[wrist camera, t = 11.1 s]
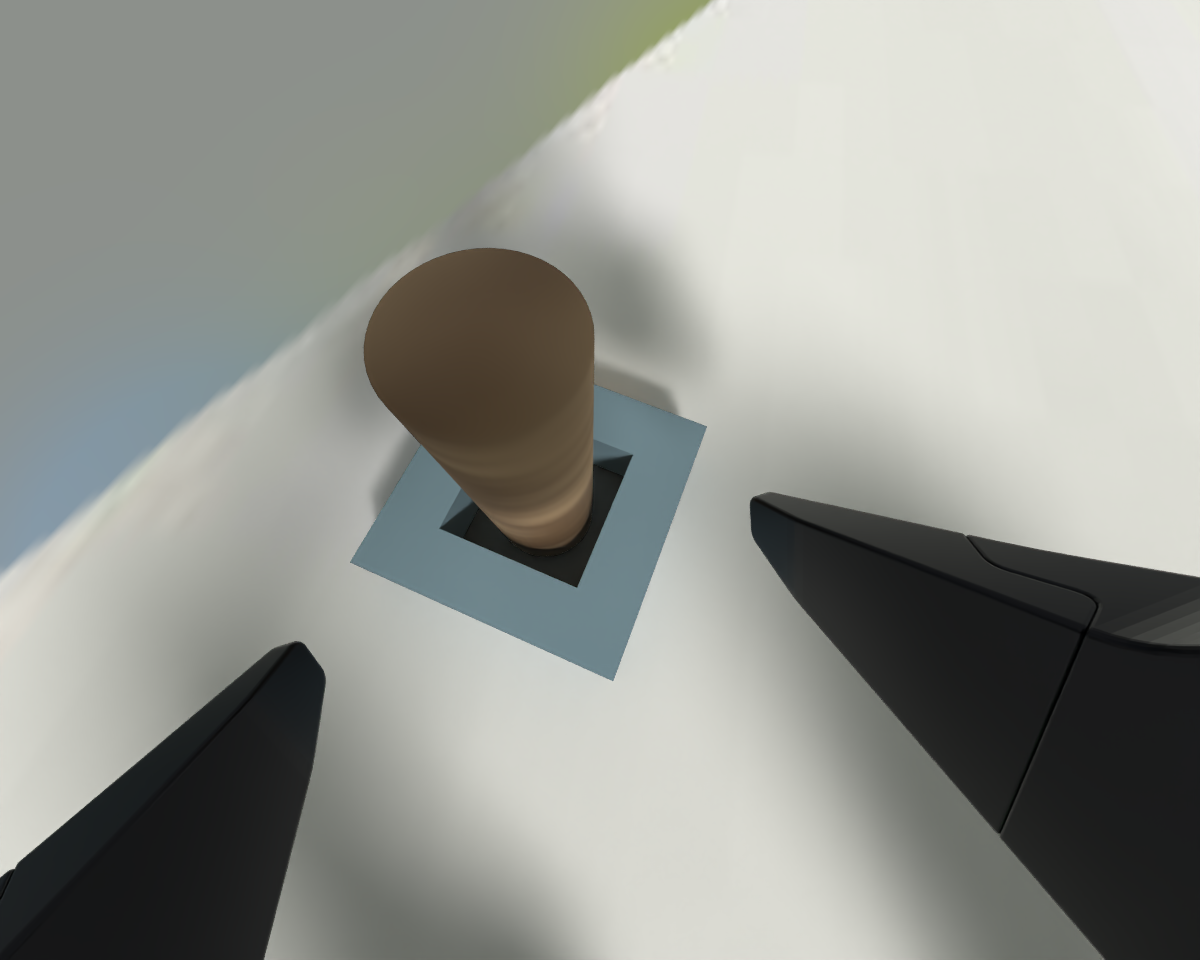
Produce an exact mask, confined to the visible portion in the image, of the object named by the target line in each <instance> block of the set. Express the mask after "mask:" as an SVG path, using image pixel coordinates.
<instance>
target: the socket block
mask: <svg viewBox="0 0 1200 960" xmlns="http://www.w3.org/2000/svg"><path fill="white" fill-rule="evenodd" d="M706 428H707V426H704V425H702V424H699V423H696V422H694V421H691V420H688V419H686V418H683V417H680V416H677V415H675V414H672V413H669V412H667V411H664V410H661V409H659V408H656V407H653V406H651V405H648V404H645V403H643V402H640V401H637V400H635V399H632V398H629V397H627V396H624V395H621V394H619V393H616V392H613V391H611V390H608V389H605V388H603V387H600V386H597V385H594V420H593V464H594V465H597V466H599V467H602V468H604V469H607V470H609V471H612V472H615V473H617V474H620V475H622V476H624V478H623V480H622V483H621V485H620V487H619V490H618V492H617V494H616V497H615V499H614V502H613V504H612V506H611V509H610V511H609V513H608V516H607V518H606V521H605V523H604V525H603V528H602V530H601V532H600V535H599V537H598V540H597V542H596V544H595V547H594V549H593V551H592V554H591V556H590V559H589V561H588V563H587V566H586V568H585V570H584V573H583V575H582V578H581V580H580V582H579V585H578V587H577V588H576V587H574V586H572V585H569V584H567V583H565V582H562V581H560V580H558V579H555V578H553V577H551V576H548V575H546V574H544V573H541V572H539V571H537V570H534V569H532V568H530V567H527V566H525V565H523V564H520V563H518V562H516V561H513V560H511V559H509V558H507V557H504V556H502V555H500V554H497V553H495V552H493V551H490V550H488V549H486V548H483V547H481V546H479V545H476V544H474V543H472V542H469V541H467V540H465V539H463V537H464V535H465V533H466V531H467V530H468V528H469V526H470V524H471V522H472V520H473V518H474V516H475V514H476V512H477V511H478V509H479V507H478V506H477V505H476V503H475V502H474V501H473V500H472V499H471V498H470V497H469V496H468V495H467V494H466V493H465V492H464V490H463V489H462V488H461V487H460V486H459V485H458V484H457V483H456V482H455V481H454V480H453V479H452V477H451V476H450V475H449V474H448V473H447V472H446V471H445V470H444V469H443V468H442V467H441V465H440V464H439V463H438V462H437V461H436V460H435V459H434V458H433V457H432V456H431V455H430V454H429V452H428V451H427V450H426V449H425V448H424V447H423V446H422V445H420V447H419V449H418V450H417V452H416V454H415V455H414V457H413V459H412V460H411V462H410V464H409V465H408V467H407V469H406V470H405V472H404V474H403V475H402V477H401V479H400V480H399V482H398V484H397V485H396V487H395V489H394V490H393V492H392V494H391V495H390V497H389V499H388V500H387V502H386V504H385V505H384V507H383V508H382V510H381V512H380V513H379V515H378V517H377V518H376V520H375V522H374V523H373V525H372V527H371V528H370V530H369V532H368V533H367V535H366V537H365V538H364V540H363V542H362V543H361V545H360V547H359V548H358V550H357V552H356V553H355V555H354V557H353V558H352V560H351V562H350V563H352V564H355V565H357V566H359V567H361V568H364V569H366V570H368V571H370V572H372V573H375V574H377V575H379V576H381V577H383V578H386V579H388V580H390V581H392V582H395V583H397V584H399V585H401V586H403V587H406V588H408V589H410V590H412V591H414V592H417V593H419V594H421V595H423V596H426V597H428V598H430V599H432V600H434V601H437V602H439V603H441V604H443V605H445V606H448V607H450V608H452V609H454V610H457V611H459V612H461V613H463V614H465V615H468V616H470V617H472V618H474V619H476V620H479V621H481V622H483V623H485V624H488V625H490V626H492V627H494V628H496V629H499V630H501V631H503V632H505V633H507V634H510V635H512V636H514V637H516V638H519V639H521V640H523V641H525V642H527V643H530V644H532V645H534V646H536V647H538V648H541V649H543V650H545V651H547V652H550V653H552V654H554V655H556V656H558V657H561V658H563V659H565V660H567V661H569V662H572V663H574V664H576V665H578V666H581V667H583V668H585V669H587V670H589V671H592V672H594V673H596V674H598V675H600V676H603V677H605V678H607V679H609V680H612V681H613V680H614V678H615V675H616V672H617V669H618V667H619V664H620V661H621V658H622V656H623V653H624V650H625V648H626V645H627V642H628V639H629V637H630V634H631V631H632V629H633V626H634V623H635V620H636V618H637V615H638V612H639V610H640V607H641V604H642V601H643V599H644V596H645V593H646V591H647V588H648V585H649V582H650V580H651V577H652V574H653V572H654V569H655V566H656V563H657V561H658V558H659V555H660V553H661V550H662V547H663V544H664V542H665V539H666V536H667V534H668V531H669V528H670V525H671V523H672V520H673V517H674V515H675V512H676V509H677V506H678V504H679V501H680V498H681V496H682V493H683V490H684V487H685V485H686V482H687V479H688V477H689V474H690V471H691V468H692V466H693V463H694V460H695V458H696V455H697V452H698V449H699V447H700V444H701V441H702V439H703V436H704V433H705V430H706Z"/></svg>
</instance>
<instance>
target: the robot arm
mask: <svg viewBox="0 0 1200 960" xmlns="http://www.w3.org/2000/svg"><path fill="white" fill-rule="evenodd" d="M750 517H751V532H752V535H753V538H754V540H755V542H756V543H757V545H758V546H759V548H760V549H761V551H762V552H763V554H764V555H765V557H766V558H767V559H768V561H769V562H770V564H771V565H772V567H773V568H774V570H775V571H776V573H777V574H778V575H779V577H780V578H781V580H782V581H783V583H784V584H785V586H786V587H787V589H788V590H789V591H790V593H791V594H792V595H793V597H794V598H795V599H796V601H797V602H798V603H799V604H800V605H801V607H802V608H803V609H804V610H805V611H806V613H807V614H808V615H809V616H810V617H811V618H812V619H813V621H814V622H815V623H816V624H817V625H818V626H819V628H820V629H821V630H822V631H823V632H824V633H825V635H826V636H827V637H828V638H829V639H830V640H831V642H832V643H833V644H834V645H835V646H836V647H837V649H838V650H839V651H840V652H841V653H842V654H843V655H844V657H845V658H846V659H847V660H848V661H849V662H850V664H851V665H852V666H853V667H854V668H855V669H856V671H857V672H858V673H859V674H860V675H861V676H862V678H863V679H864V680H865V681H866V682H867V683H868V684H869V686H870V687H871V688H872V689H873V690H874V691H875V693H876V694H877V695H878V696H879V697H880V698H881V700H882V701H883V702H884V703H885V704H886V705H887V707H888V708H889V709H890V710H891V711H892V712H893V714H894V715H895V716H896V717H897V718H898V719H899V720H900V722H901V723H902V724H903V725H904V726H905V727H906V729H907V730H908V731H909V732H910V733H911V734H912V736H913V737H914V738H915V739H916V740H917V741H918V743H919V744H920V745H921V746H922V747H923V748H924V750H925V751H926V752H927V753H928V754H929V755H930V756H931V758H932V759H933V760H934V761H935V762H936V763H937V765H938V766H939V767H940V768H941V769H942V770H943V772H944V773H945V774H946V775H947V776H948V777H949V779H950V780H951V781H952V782H953V783H954V784H955V786H956V787H957V788H958V789H959V790H960V791H961V792H962V794H963V795H964V796H965V797H966V798H967V799H968V801H969V802H970V803H971V804H972V805H973V806H974V808H975V809H976V810H977V811H978V812H979V813H980V815H981V816H982V817H983V818H984V819H985V820H986V821H987V823H988V824H989V825H990V826H991V827H992V828H993V830H994V831H995V832H996V833H998V834H1000V835H999V836H1000V838H1001V839H1002V841H1003V842H1004V843H1005V844H1006V845H1007V846H1008V848H1009V849H1010V850H1011V851H1012V852H1013V853H1014V855H1015V856H1016V857H1017V858H1018V859H1019V860H1020V862H1021V863H1022V864H1023V865H1024V866H1025V867H1026V869H1027V870H1028V871H1029V872H1030V873H1031V874H1032V875H1033V877H1034V878H1035V879H1036V880H1037V881H1038V882H1039V884H1040V885H1041V886H1042V887H1043V888H1044V889H1045V891H1046V892H1047V893H1048V894H1049V895H1050V896H1051V898H1052V899H1053V900H1054V901H1055V902H1056V903H1057V904H1058V906H1059V907H1060V908H1061V909H1062V910H1063V911H1064V913H1065V914H1066V915H1067V916H1068V917H1069V918H1070V920H1071V921H1072V922H1073V923H1074V924H1075V925H1076V927H1077V928H1078V929H1079V930H1080V931H1081V932H1082V934H1083V935H1084V936H1085V937H1086V938H1087V939H1088V940H1089V942H1090V943H1091V944H1092V945H1093V946H1094V947H1095V949H1096V950H1097V951H1098V952H1099V953H1100V954H1101V956H1102V957H1103V958H1104V959H1105V960H1200V577H1195V576H1190V575H1184V574H1178V573H1172V572H1166V571H1160V570H1154V569H1148V568H1143V567H1137V566H1131V565H1125V564H1119V563H1113V562H1107V561H1101V560H1096V559H1090V558H1084V557H1078V556H1073V555H1067V554H1062V553H1056V552H1051V551H1045V550H1039V549H1034V548H1029V547H1024V546H1020V545H1015V544H1010V543H1005V542H1000V541H995V540H990V539H986V538H981V537H977V536H972V535H967V536H965V535H964V534H962V533H958V532H953V531H949V530H944V529H939V528H935V527H930V526H925V525H921V524H916V523H912V522H907V521H902V520H898V519H893V518H888V517H884V516H879V515H875V514H870V513H865V512H861V511H856V510H852V509H847V508H842V507H838V506H833V505H828V504H824V503H819V502H815V501H810V500H805V499H801V498H796V497H792V496H787V495H782V494H778V493H773V492H767V493H764V494H761V495H758V496H755V497H753V498H752V499H751V501H750ZM325 685H326V678H325V673H324V671H323V669H322V667H321V666H320V665H319V663H318V662H317V661H316V659H315V658H314V656H313V655H312V654H311V652H310V651H309V650H308V648H307V647H306V646H305V645H304V644H303V643H302V642H299V641H294V642H291V643H288V644H285V645H282V646H278V647H276V648H274V649H272V650H270V651H269V652H268V653H267V654H266V655H264V656H263V657H262V658H261V659H260V660H259V661H257V662H256V663H255V664H254V665H253V666H251V667H250V668H249V669H248V670H247V671H245V672H244V673H243V674H242V675H241V676H240V677H238V678H237V679H236V680H235V681H234V682H232V683H231V684H230V685H229V686H228V687H226V688H225V689H224V690H223V691H222V692H221V693H219V694H218V695H217V696H216V697H215V698H213V699H212V700H211V701H210V702H209V703H207V704H206V705H205V706H204V707H203V708H201V709H200V710H199V711H198V712H197V713H196V714H194V715H193V716H192V717H191V718H190V719H188V720H187V721H186V722H185V723H184V724H182V725H181V726H180V727H179V728H178V729H177V730H175V731H174V732H173V733H172V734H171V735H169V736H168V737H167V738H166V739H165V740H163V741H162V742H161V743H160V744H159V745H157V746H156V747H155V748H154V749H153V750H152V751H150V752H149V753H148V754H147V755H146V756H144V757H143V758H142V759H141V760H140V761H138V762H137V763H136V764H135V765H134V766H133V767H131V768H130V769H129V770H128V771H127V772H125V773H124V774H123V775H122V776H121V777H119V778H118V779H117V780H116V781H115V782H114V783H112V784H111V785H110V786H109V787H108V788H106V789H105V790H104V791H103V792H102V793H100V794H99V795H98V796H97V797H96V798H94V799H93V800H92V801H91V802H90V803H89V804H87V805H86V806H85V807H84V808H83V809H81V810H80V811H79V812H78V813H77V814H75V815H74V816H73V817H72V818H71V819H70V820H68V821H67V822H66V823H65V824H64V825H62V826H61V827H60V828H59V829H58V830H56V831H55V832H54V833H53V834H52V835H50V836H49V837H48V838H47V839H46V840H45V841H43V842H42V843H41V844H40V845H39V846H37V847H36V848H35V849H34V850H33V851H31V852H30V853H29V854H28V855H27V856H26V857H24V858H23V859H22V860H21V861H20V862H19V863H18V864H17V865H16V867H15V869H12V870H9V871H8V872H6V873H5V874H4V875H3V876H2V877H0V960H264V957H265V953H266V949H267V945H268V941H269V938H270V934H271V930H272V926H273V922H274V918H275V914H276V910H277V906H278V902H279V899H280V895H281V891H282V887H283V883H284V879H285V875H286V871H287V867H288V863H289V859H290V856H291V852H292V848H293V844H294V840H295V836H296V832H297V828H298V824H299V820H300V816H301V813H302V809H303V805H304V801H305V797H306V793H307V789H308V785H309V781H310V777H311V772H312V768H313V763H314V757H315V752H316V745H317V738H318V732H319V725H320V718H321V712H322V705H323V698H324V691H325Z"/></svg>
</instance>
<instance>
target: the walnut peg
mask: <svg viewBox="0 0 1200 960" xmlns="http://www.w3.org/2000/svg"><path fill="white" fill-rule="evenodd" d="M364 362H365V367H366V372H367V375H368V378H369V380H370V383H371V385H372V387H373V389H374V391H375V392H376V394H377V396H378V397H379V398H380V400H381V401H382V402H383V403H384V405H385V406H386V407H387V408H388V409H389V410H390V411H391V412H392V413H393V415H394V416H395V417H396V418H397V419H398V420H399V421H400V422H401V423H402V424H403V425H404V426H405V428H406V429H407V430H408V431H409V432H410V433H411V434H412V435H413V436H414V437H415V438H416V439H417V441H418V442H419V443H420V444H421V445H422V446H423V447H424V448H425V449H426V450H427V451H428V452H429V454H430V455H431V456H432V457H433V458H434V459H435V460H436V461H437V462H438V463H439V464H440V465H441V467H442V468H443V469H444V470H445V471H446V472H447V473H448V474H449V475H450V476H451V477H452V479H453V480H454V481H455V482H456V483H457V484H458V485H459V486H460V487H461V488H462V489H463V490H464V492H465V493H466V494H467V495H468V496H469V497H470V498H471V499H472V500H473V501H474V502H475V503H476V505H477V506H478V507H479V508H480V509H481V510H482V511H483V512H484V513H485V514H486V515H487V516H488V518H489V519H490V520H491V521H492V522H493V523H494V524H495V525H496V526H497V527H498V528H499V529H500V531H501V532H502V533H503V534H504V535H505V536H506V537H507V538H508V539H509V540H510V541H511V542H512V543H513V544H514V545H515V546H516V547H517V548H519V549H520V550H522V551H524V552H526V553H528V554H531V555H535V556H543V557H547V556H555V555H559V554H562V553H564V552H566V551H568V550H570V549H571V548H573V547H574V546H575V545H577V544H578V543H579V542H580V541H581V540H582V538H583V537H584V536H585V534H586V532H587V531H588V529H589V526H590V523H591V519H592V507H593V420H594V325H593V320H592V316H591V312H590V310H589V307H588V305H587V302H586V301H585V299H584V297H583V295H582V294H581V292H580V291H579V289H578V288H577V287H576V286H575V284H574V283H573V282H572V281H571V280H570V279H569V278H568V277H567V276H566V275H565V274H564V273H562V272H561V271H559V270H558V269H557V268H555V267H554V266H552V265H550V264H549V263H547V262H545V261H543V260H541V259H539V258H536V257H534V256H531V255H528V254H525V253H521V252H518V251H513V250H507V249H496V248H477V249H469V250H462V251H458V252H453V253H449V254H446V255H443V256H440V257H437V258H435V259H433V260H430V261H428V262H426V263H424V264H422V265H420V266H419V267H417V268H415V269H414V270H412V271H410V272H409V273H408V274H406V275H405V276H404V277H402V278H401V279H400V280H399V281H398V282H397V283H396V284H394V285H393V286H392V287H391V288H390V289H389V291H388V292H387V293H386V294H385V295H384V297H383V298H382V299H381V301H380V302H379V304H378V305H377V307H376V308H375V310H374V312H373V314H372V317H371V319H370V321H369V324H368V327H367V331H366V334H365V341H364Z"/></svg>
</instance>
